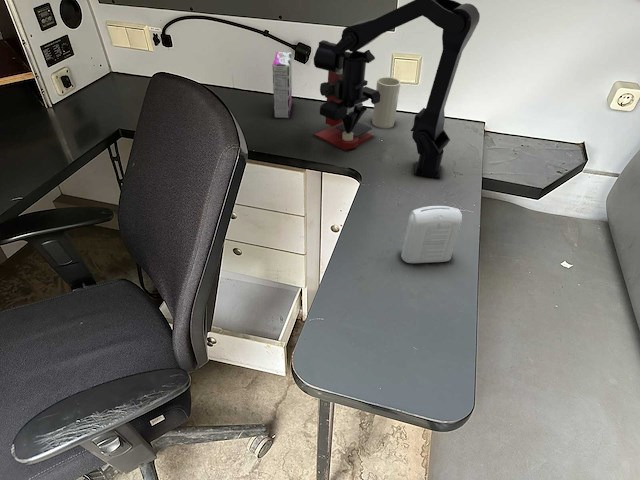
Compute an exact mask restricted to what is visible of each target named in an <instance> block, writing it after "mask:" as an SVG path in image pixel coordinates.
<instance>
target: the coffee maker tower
mask: <svg viewBox="0 0 640 480" xmlns="http://www.w3.org/2000/svg"><path fill="white" fill-rule="evenodd" d="M342 71H343V68H342V69H340V70H339V71H338V72H336V73H335V72H331V71H327V82H329V83H331V82H336V81H338V79H341V78H342ZM331 100H332V101H334V102H337V103H340V102H341V100H337V99H335V96H332V97H328V98H326V102H329V101H331ZM341 122H343V120H342V119H341V120H339V121H334V120H332V119H329V118H327V117H325V125H328V126H329V127H331V126H332V127H333V126H335V125H337V124H339V123H341ZM336 128H337V129H339V130H341V131H345V127H344V124H342V125H340V126H338V127H336ZM372 130H373V127H371V126H368V125H366V124H364V123H362V122H359V121H358V122H357V124H356V125H355V127H354V128H353V130H352V132H353V136H355V137H357V136H359V135H361V134H363V133H365V132H367V133H368V132H369V131H372Z"/></svg>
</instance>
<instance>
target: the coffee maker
mask: <svg viewBox="0 0 640 480" xmlns="http://www.w3.org/2000/svg"><path fill="white" fill-rule="evenodd" d="M342 124H343V122H341V123H339V124H337V125H335V126H333V127H332V126H329V127H327V128H325V129H322V130H320V131H318V132H315V133H314V137H316V138H318V139H320V140H322V141H324V142H326V143H328V144H331V145H332V146H334V147H337V148H340V149H342V150H343V151H345V152H347V151H350V150H351V149H355V148H357V147H358V146H359V145H361V144H363V143H365V142H366V141H368V140H370V139H373V138H374V135H373V134H371V133H369V132H368V131H367V132H365V133H363V134H361V135H359V136H357V137H355V136H353V140H352V141H345V140H342V135H343V132H344V131H341V130H339V129H337V128H336V127H338V126H340V125H342Z"/></svg>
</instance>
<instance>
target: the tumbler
mask: <svg viewBox="0 0 640 480" xmlns="http://www.w3.org/2000/svg"><path fill="white" fill-rule="evenodd" d="M401 83H402V82H401V81H400V80H399V79H398V78H396V77H390V76H383V77H379V78H378V79H377V80H376V85H375V86H376V88H375V90H377V91H379V93H380V95H381V96H380V102H378V103H376V104H373V111H372V119H371V121H372V125H373V126H375V127H377V128H380V129H389V128H393V127H394V125H395V123H396V122H395V121H396V115H397V110H398V109H397V108H398V103H399V95H400V89H401Z"/></svg>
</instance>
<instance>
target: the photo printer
mask: <svg viewBox="0 0 640 480" xmlns="http://www.w3.org/2000/svg"><path fill="white" fill-rule="evenodd" d="M462 223H463V215H462V212H461V211H460V209H459V208H456V207H453V206H447V205H430V206H422V207H419V208H416V209H413V210H411V211H410V213H409V216H408V222H407V225H406V229H405V230H406V231H405V234H404V239H403V243H402V249H401V255H400V257H401V259H402V260H403V261H404V262H405V263H407V264H425V263H426V264H429V263H444V262H449V261H451V258H452V255H453V253H454V248H455V245H456V243H457V240H458V236H459V233H460V229H461V226H462Z"/></svg>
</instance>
